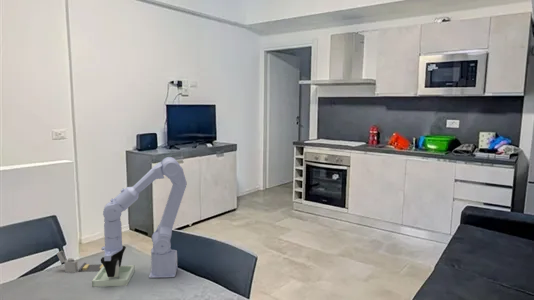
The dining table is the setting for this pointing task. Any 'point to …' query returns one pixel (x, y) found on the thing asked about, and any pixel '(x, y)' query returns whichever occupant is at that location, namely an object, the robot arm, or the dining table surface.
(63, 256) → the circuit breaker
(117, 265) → the fuse
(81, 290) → the dining table surface
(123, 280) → the tray
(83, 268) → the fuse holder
